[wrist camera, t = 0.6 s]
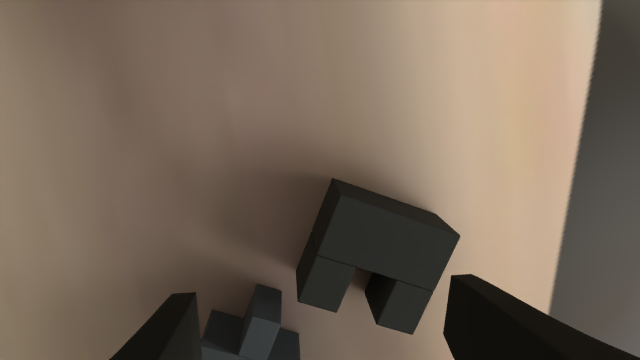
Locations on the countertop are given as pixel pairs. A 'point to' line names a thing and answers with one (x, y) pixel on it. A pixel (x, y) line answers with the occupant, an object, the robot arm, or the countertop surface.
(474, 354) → the robot arm
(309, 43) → the countertop surface
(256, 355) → the grey t-shaped block
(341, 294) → the black notched block
